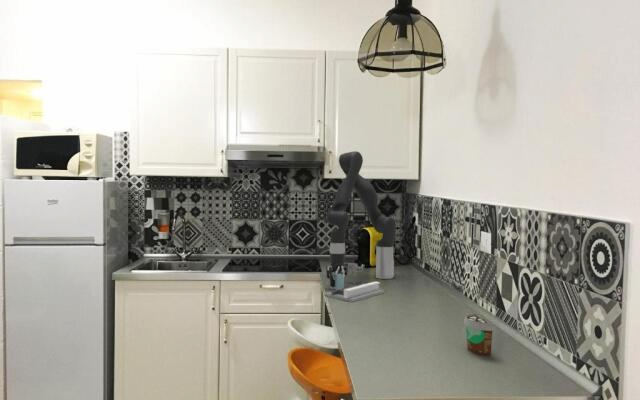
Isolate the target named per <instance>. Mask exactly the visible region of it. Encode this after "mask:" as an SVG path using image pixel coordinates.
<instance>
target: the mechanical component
mask: <svg viewBox="0 0 640 400" xmlns="http://www.w3.org/2000/svg"><path fill="white" fill-rule="evenodd" d="M346 263H347V264H348V272H350V273H351V276H352V284H353V285H356V283H357V275H358V273H361V272H363V271H364V269H365V264H363V263H362V264H361V266H359V265H358V263H354V262H353V263H350V262H346Z"/></svg>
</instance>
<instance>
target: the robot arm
mask: <svg viewBox="0 0 640 400" xmlns="http://www.w3.org/2000/svg"><path fill="white" fill-rule="evenodd" d="M363 162H364V159H363V155H362V153H361V152H359V151H357V150H355V151H350V152H344V153H342V154H340V155H339V157H338V164H339V168H341V171H342V172H343V173H344V175H345V178H344V179H343V180H342V182H341V183H340V185H339V187H338V188H337V190H336V195H335V198H334V202H333V204H332V206H331V207H330V209H329V211H328V213H327V215H326V216H327V217H326V221H327V223H328V224H329V225H330V226H338V228H337V229H335V230H331V231H330V245H329V262H330V265H326V267H325V268H326V271H325V272H326V278H327V279H329V287H330V286H331V287H335V280H334V279H335V276H336V275H337V273H341V274H344V278H345V277H346V276H348V272H349V271H348V264H347V263H348V262H346V232H347V228H348V224H349V221H350V217H349V214H348V212H347V211H344V209H347V208H348V207H349V204H350V200H351V195H352V191H353V190H354V191H355V193H356V194H357V197H358V198H359V200H360V202H361V204H362V206H363V207H364V209H365V211H366V213H367V215H368V217H369V220H370V222H371V224H372V227H373V229H374V230H375V232H376V233H379V234H382V235H381V238H380V239H379V240H377V241H376V243H375V244H376V245H375V246H376V249H375V250H376V251H375V252H376V256H375V258H376V259H375V260H376V261H375V263H376V264H375V265H376V266H375V268H376V269H375V273H376V274H375V277H376V278H377V279H380V280H391V279H393V278H394V277H395V260H394V245H395V241H396V230H397V228H396V226H397V224H396V220H395V218H393V217H390V216H383V215H382V213H381V212H380V210H379V207H378V206H379V195H378V194H377V192H376V190H375V188H374V186H373V184H372V183H370V181H368V180H367V179H366V178H364V177H363V176H362V175H361V174H360V171H361V168H362V166H363ZM332 275H333V277H332Z"/></svg>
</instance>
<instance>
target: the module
mask: <svg viewBox="0 0 640 400" xmlns="http://www.w3.org/2000/svg"><path fill="white" fill-rule="evenodd" d="M332 277H333V275H332ZM334 280H335V287H331V286H330V285H329V288H330V289H331V290H334V291H335V290H338V289H343V288H345V277H344V274H341V273H337V275H336V276H335V279H334Z"/></svg>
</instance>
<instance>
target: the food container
mask: <svg viewBox="0 0 640 400" xmlns="http://www.w3.org/2000/svg"><path fill="white" fill-rule="evenodd" d="M463 325H465V333H466V348H467V351H469V352H470V353H472V354H476V355H479V356H491V355H492V345H493V344H492V342H493V332H494V323H491V322H490V323H489V322H487V321H486V320H485V319H483V318H480V317H479V316H478V312H472V313H468V314H466V315H465V317H464V320H463Z"/></svg>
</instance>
